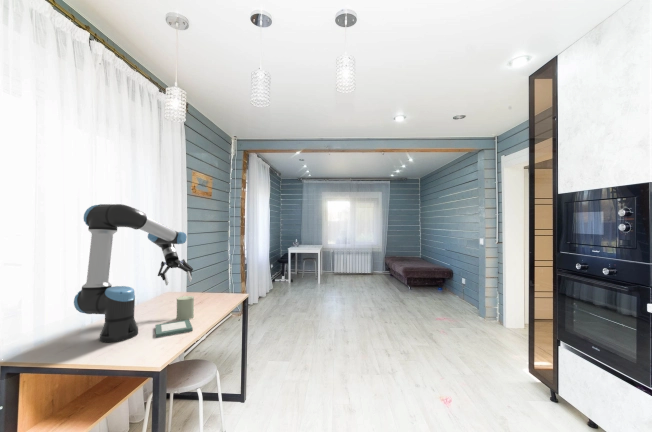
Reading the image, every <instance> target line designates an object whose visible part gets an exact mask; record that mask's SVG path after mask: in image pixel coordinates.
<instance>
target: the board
mask: <svg viewBox="0 0 652 432" xmlns="http://www.w3.org/2000/svg"><path fill="white" fill-rule="evenodd" d="M154 329H155V338H161V337H166V336H171V335H178V334H183V333H189V332H193V326H192V323H191V322H190V319H188V320H177V321H170V322H164V323H158V324H155V327H154Z"/></svg>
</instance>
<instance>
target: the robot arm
mask: <svg viewBox="0 0 652 432" xmlns="http://www.w3.org/2000/svg"><path fill="white" fill-rule="evenodd" d="M83 222H84V223H85V225H86V226H87V227H88V232H89V233H90V234H91V237H90V238H91V239H90V248H89V256H88V265H87V276H86V282H85V283H84V284H83V285H82V286H81V290H79V291H78V292H77V294H75V296H74V299H73V306H74V308H75V309H76V311H78V312H79V313H82V314H86V315H104V323H103V327H102V329H101V331H100V334H99V341H100V342H102V343H115V342H116V343H117V342H121V341H125V340H129V339H132V338H135V337H136V336H138V334H139V327H138V325H137V322H136V319H135V307H136V306H135V304H136V301H135V300H136V295H135V289H134V288H133V287H130V286H126V285H121V286H120V285H119V286H118V285H116V286H112V285H113V284H112V283H110V282H109V279H110V269H111V259H112V249H113V248H112V247H113V240H114V239H113V238H114V235H115V233H117V232H118V228H129V229H133V230H141V231H143V232H145V233H147V239H148V240H149V241H151V243H153V244H155V245H156V246H158V247H159V248H160V249H161V251H162V254H163V257H164V261H161V262H160V268H159V271H158V273H157V276H158V277H160V278H161V279H162V281H164V284H165V286H168V285H169V280H168V276H167V272H168V271H169V270H170V269H174V268H175V269H177V268H178V269H180V270H182V271H184V272H186V275H187V278H188V280H189V282H190V283H191V282H192V280H193V277H192V276H193V274H192V272H193V271H194V268H193V267H192V266H190V264H189V263H188V262H186V260H185V258H183V259H182V260H180V258H179V255H178V253H177V250H176V247H175V245H183V244H185V243H186V241H187V233H186V232H184V231H176V230H174V229H173V228H170V227H168V226H167V225H164V224H162V223H160V222H159V221H156V220H154V219H153V218H150V217H148V215H147V214H146V213H144V212H143V211H141V210H139V209H137V208H134V207H132V206H129V205H126V204H122V203H121V204H120V203H115V204H112V203H110V204H109V203H107V204H106V203H105V204H102V203H100V204H95V205H91V206H89V207H88V208H87V209H86V210H85V212H84V213H83ZM165 265H166V267H165V268H164V266H165ZM163 268H164V270H163Z"/></svg>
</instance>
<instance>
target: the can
mask: <svg viewBox="0 0 652 432" xmlns="http://www.w3.org/2000/svg"><path fill="white" fill-rule="evenodd" d="M194 302H195V296H192V295H185V296H184V295H183V296H178V297H177V298H176V320H177V321H182V320H191V319H193V318H194V317H195V314H194V310H195V309H194V306H195V305H194V304H195V303H194Z"/></svg>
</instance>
